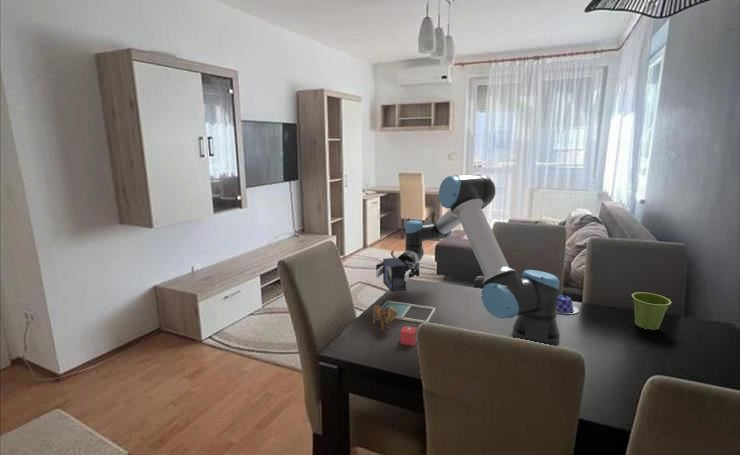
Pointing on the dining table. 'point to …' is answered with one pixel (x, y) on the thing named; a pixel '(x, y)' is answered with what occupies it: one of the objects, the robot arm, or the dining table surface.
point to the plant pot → (649, 309)
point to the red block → (408, 335)
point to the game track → (406, 310)
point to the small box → (394, 274)
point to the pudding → (565, 305)
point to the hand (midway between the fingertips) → (391, 276)
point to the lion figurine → (384, 315)
